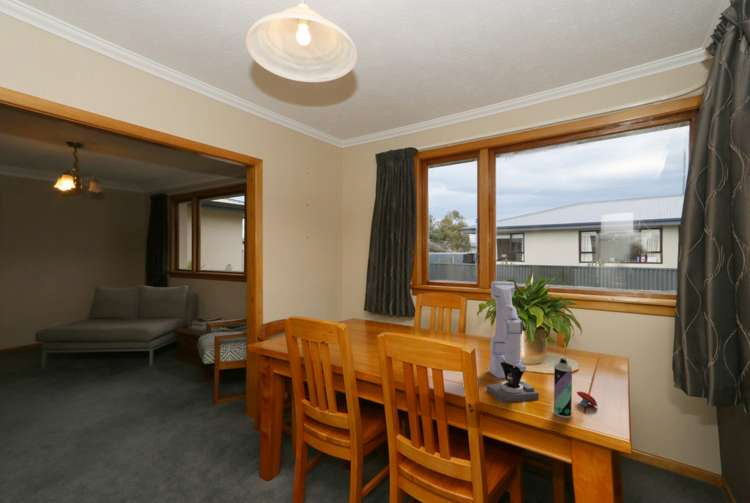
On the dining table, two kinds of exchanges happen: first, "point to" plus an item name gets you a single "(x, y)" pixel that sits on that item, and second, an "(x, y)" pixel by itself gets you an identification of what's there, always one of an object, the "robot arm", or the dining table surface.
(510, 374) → the lens
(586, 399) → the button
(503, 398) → the camera body
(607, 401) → the dining table surface
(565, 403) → the spray can
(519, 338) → the robot arm
